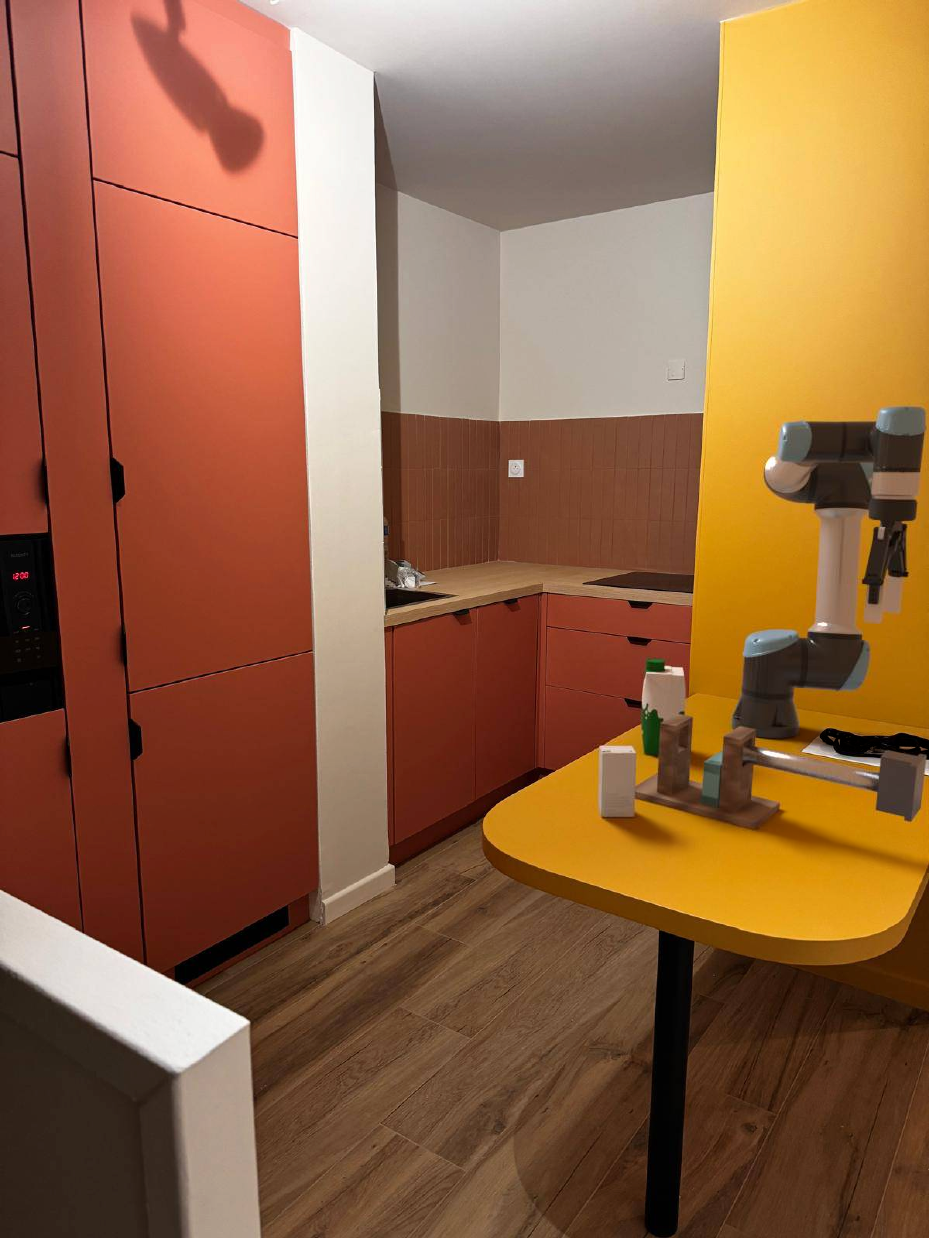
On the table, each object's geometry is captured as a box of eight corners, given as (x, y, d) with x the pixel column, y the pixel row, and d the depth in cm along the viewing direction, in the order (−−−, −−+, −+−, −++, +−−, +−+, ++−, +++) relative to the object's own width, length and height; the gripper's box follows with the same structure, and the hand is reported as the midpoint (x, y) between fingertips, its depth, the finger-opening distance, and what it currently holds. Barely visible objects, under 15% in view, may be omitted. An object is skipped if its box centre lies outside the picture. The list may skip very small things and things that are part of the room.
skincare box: (630, 808, 157) (633, 744, 155) (635, 818, 153) (638, 752, 150) (596, 808, 157) (598, 744, 155) (599, 818, 153) (602, 752, 151)
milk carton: (639, 742, 194) (644, 655, 190) (681, 745, 192) (686, 657, 189) (639, 755, 186) (644, 664, 182) (683, 758, 184) (688, 666, 180)
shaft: (727, 778, 153) (730, 729, 151) (742, 767, 158) (745, 720, 157) (911, 821, 135) (917, 766, 133) (920, 808, 140) (926, 755, 139)
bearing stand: (629, 795, 163) (632, 721, 160) (657, 778, 172) (661, 707, 170) (755, 829, 148) (761, 748, 146) (779, 808, 158) (785, 731, 155)
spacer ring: (701, 804, 156) (703, 761, 155) (718, 791, 162) (721, 750, 161) (717, 808, 154) (720, 765, 153) (734, 795, 161) (737, 753, 159)
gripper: (887, 495, 164) (877, 606, 168) (851, 498, 144) (840, 624, 148) (932, 496, 159) (920, 610, 163) (900, 500, 140) (887, 629, 144)
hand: (882, 617), depth 156 cm, fingers open, 13 cm apart
